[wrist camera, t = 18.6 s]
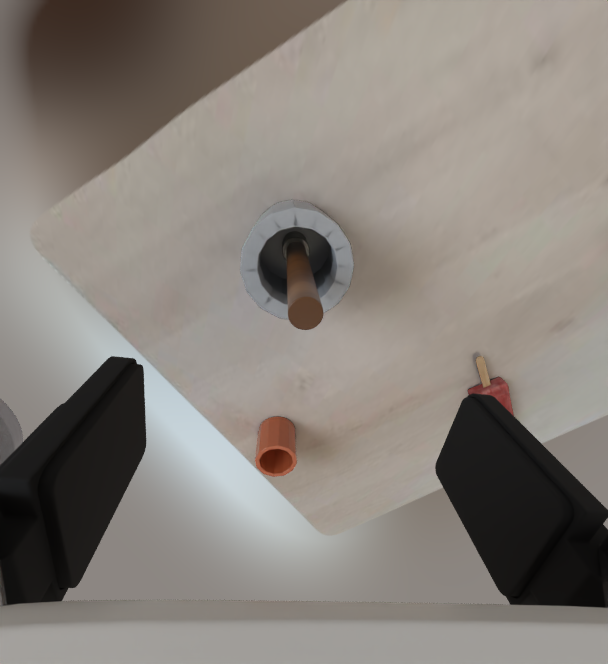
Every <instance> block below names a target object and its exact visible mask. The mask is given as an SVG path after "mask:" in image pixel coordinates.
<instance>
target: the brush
mask: <svg viewBox="0 0 608 664" xmlns="http://www.w3.org/2000/svg"><path fill="white" fill-rule="evenodd" d="M282 254H283V257H284V259H285V260H286V261H287V302H288V318H289V321H290V322H291V324H292V325H293V326H295V327H296V328H298V329H302V330H309V329H312V328H314V327H316V326H317V325H318V324H319V323H320V322H321V320H322V318H323V307H322V304H321V300H320V297H319V294H318V290H317V287H316V283H315V280H314V277H313V273H312V270H311V266H310V263H309V260H308V257H309V254H310V248H309V245H308V242H307V239H306V237H305V236H304V235H303V234H302V233H301V232H298V231H292V232H289V233H288V234H286V235H285V237H284V239H283V243H282Z"/></svg>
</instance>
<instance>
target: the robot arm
mask: <svg viewBox="0 0 608 664" xmlns="http://www.w3.org/2000/svg"><path fill="white" fill-rule="evenodd" d="M145 425H146V424H145V398H144V372H143V366H142V365H139V364H137V363H136V360H135V359H133V358H123V357H110V358H108V359H107V360H106V361H105V362H104V363H103V364H102V366H101V367H100V368H99V369H98V370H97V371H96V372H95V373H94V374H93V375H92V376H91V377H90V378H89V379H88V380H87V381H86V382H85V383H84V384H83V385H82V386H81V387H80V388H79V389H78V390H77V391H76V392H75V393H74V394H73V395H72V396H71V397H70V398H69V399H68V400H67V401H66V402H65V403H64V404H61V405H60V406H59V407H57V408H56V409H55V410H54V411H53V413H51V414H50V415H49V416H48V417H47V418H46V420H44V421H43V423H41V424H40V425H39V427H38V428H37V429H36V430H35V431H34V432H33V433H32V434H31V435H30V436H29V437H28V438H27V439H26V440H25V441H24V442H23V443H22V444H21V445H20V446H19V447H18V448H17V449H16V450H15V451H14V452H13V453H12V454H11V455H10V456H9V457H8V458H7V459H6V460H5V461H4V462H3V463H2V464H1V465H0V664H608V529H607V528H606V527H605V526H604V525H603V523H604V522H605V520H606V519H607V518H608V510H607V509H606V508H605V507H604V506H603V505H602V504H601V503H600V502H599V501H598V500H597V499H596V498H595V497H594V496H593V495H592V494H591V493H590V492H589V491H588V490H587V489H586V488H585V487H584V486H583V485H582V484H581V483H580V482H579V481H578V480H577V479H576V478H575V477H574V476H573V475H572V474H571V473H570V472H569V471H568V470H567V469H566V468H565V467H564V466H563V465H562V464H561V463H560V462H559V461H558V460H557V459H556V458H555V457H554V456H553V455H552V454H551V453H550V452H549V451H548V450H547V449H546V448H545V447H544V446H543V445H542V444H541V443H540V442H539V441H538V440H537V439H536V438H535V437H534V436H533V435H532V434H531V433H530V432H529V431H528V430H527V429H526V428H525V427H524V426H523V425H522V424H521V423H520V422H519V421H518V420H517V419H516V418H515V417H514V416H513V415H512V414H511V413H510V412H509V411H508V410H507V409H506V408H505V407H504V406H503V405H502V404H501V403H500V402H499V401H498V400H497V399H496V398H495V397H493V396H492V395H485V394H475V393H473V394H470V395H469V396H468V397H467V398H464V399H463V401H462V403H461V405H460V407H459V410H458V412H457V415H456V417H455V419H454V422H453V424H452V426H451V429H450V431H449V434H448V436H447V438H446V441H445V443H444V445H443V448H442V450H441V453H440V455H439V457H438V460H437V462H436V467H435V468H436V474H437V476H438V478H439V480H440V482H441V484H442V486H443V488H444V489H445V491H446V493H447V495H448V497H449V499H450V501H451V502H452V504H453V506H454V508H455V510H456V512H457V514H458V515H459V517H460V519H461V521H462V523H463V525H464V527H465V529H466V530H467V532H468V534H469V536H470V538H471V540H472V542H473V543H474V545H475V547H476V549H477V551H478V553H479V555H480V556H481V558H482V560H483V562H484V564H485V565H486V568H487V569H488V571H489V573H490V575H491V577H492V579H493V581H494V582H495V584H496V586H497V588H498V590H499V591H500V592H501V593H502V594H503V595H504V596H506V597H507V599H508V601H509V603H510V605H499V604H498V605H497V604H452V603H393V602H329V601H328V602H326V601H323V602H321V601H240V600H238V601H237V600H98V601H97V600H93V601H92V600H91V601H90V600H89V601H62V599H63V597H64V595H65V594H66V592H67V590H68V588H75V587H76V586H77V585H78V584H79V582H80V581H81V579H82V577H83V575H84V573H85V571H86V569H87V567H88V564H89V563H90V561H91V559H92V557H93V555H94V553H95V551H96V549H97V547H98V545H99V543H100V541H101V538H102V537H103V535H104V533H105V531H106V529H107V527H108V525H109V523H110V520H111V519H112V517H113V515H114V513H115V511H116V509H117V507H118V505H119V503H120V501H121V499H122V497H123V495H124V493H125V491H126V489H127V487H128V485H129V483H130V481H131V479H132V477H133V475H134V473H135V471H136V469H137V467H138V465H139V463H140V461H141V459H142V457H143V454H144V452H145V448H146V426H145Z"/></svg>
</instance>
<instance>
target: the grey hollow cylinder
mask: <svg viewBox="0 0 608 664" xmlns="http://www.w3.org/2000/svg"><path fill="white" fill-rule="evenodd" d="M292 231H298V232H301V233H302V234H303V235H304V236H305V237H306V239H307V242H308V245H309V248H310V254H309V257H308V260H309V263H310V266H311V270H312V273H313V277H314V280H315V283H316V287H317V290H318V294H319V297H320V300H321V304H322V307H323V314H324V313H325V312H327V311H328V310H330V309H331V308H332V307H334V306H335V305H337V304H338V303H339V301H340V300H341V298H342V297H343V296H344V294H345V293H346V291H347V290H348V288H349V286H350V283H351V278H352V274H353V269H354V261H353V255H352V249H351V244H350V242H349V240H348V239H347V237H346V236H345V234H344V233H343V231H342V229H341V228H340V226H339V225H338V224H337V223H336V222H335V221H334V220H332V219H331V218H330V217H329V216H328V215H326V214H325V213H324V212H323V211H321V210H320V209H318V208H317V207H315V206H314V205H312V204H311V203H309V202H304V201H300V200H287V201H283V202H280V203H276V204H274V205H273V206H272V207H270V208H269V209H268V210H267V211H265V212H264V213H263V214H262V215H261V216H260V218H259V220H258V221H257V223H256V224H255V226H254V227H253V229H252V230H251V232H250V234H249V236H248V238H247V240H246V242H245V244H244V245H243V247H242V253H241V265H240V273H241V276H242V279H243V282H244V285H245V288H246V291H247V293H248V294H249V295H250V296H251V297H252V299H253V300H254V301H255V302H256V303H257V305H258V306H259V307H260V308H261V309H263V310H265V311H267V312H269V313H270V314H272V315H274V316H276V317H278V318H281V319H289V318H288V302H287V261H286V260H285V259H284V257H283V254H282V243H283V239H284V237H285V235H286V234H288V233H289V232H292Z"/></svg>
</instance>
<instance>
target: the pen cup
mask: <svg viewBox="0 0 608 664" xmlns="http://www.w3.org/2000/svg"><path fill="white" fill-rule="evenodd" d="M255 462H256V466H257V468H258V469H259V470H260V471H261V472H262V473H263V474H266V475H269V476H273V477H275V476H284V475H286V474H287V473H289V472H291V471H292V470H293V469H294V467H295V465H296V464H297V454H296V434H295V427H294V425H293V423H292V422H291V421H290V420H288V419H286V418H284V417H271V418H268V419H266V420H265V421H264V422H262V424H261V425H260V427H259V431H258V438H257V447H256V457H255Z"/></svg>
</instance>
